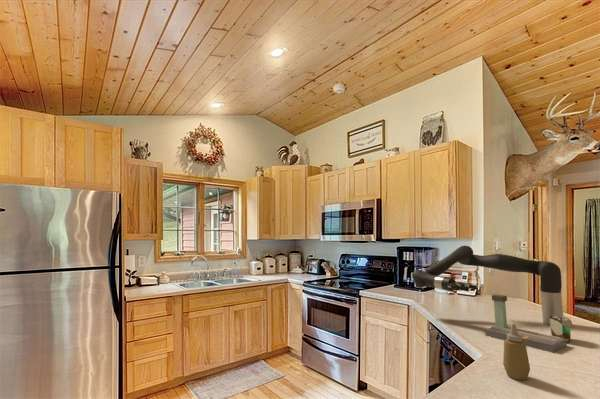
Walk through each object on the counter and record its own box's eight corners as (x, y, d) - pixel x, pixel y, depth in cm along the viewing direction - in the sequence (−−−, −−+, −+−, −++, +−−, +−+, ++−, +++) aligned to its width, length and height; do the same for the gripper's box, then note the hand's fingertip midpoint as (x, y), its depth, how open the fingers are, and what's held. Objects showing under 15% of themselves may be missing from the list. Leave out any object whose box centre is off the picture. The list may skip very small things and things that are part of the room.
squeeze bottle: (498, 372, 121) (495, 321, 123) (519, 371, 122) (515, 320, 124) (514, 382, 113) (510, 328, 115) (537, 381, 114) (532, 327, 116)
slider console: (500, 330, 171) (500, 322, 172) (566, 346, 148) (566, 336, 148) (485, 335, 164) (485, 326, 164) (553, 352, 140) (552, 342, 141)
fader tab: (498, 326, 168) (496, 294, 169) (509, 328, 163) (506, 295, 165) (493, 327, 165) (491, 295, 167) (504, 330, 161) (502, 296, 163)
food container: (580, 344, 149) (578, 321, 150) (564, 343, 151) (562, 321, 151) (564, 336, 161) (562, 314, 162) (550, 335, 163) (548, 314, 163)
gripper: (437, 277, 186) (465, 282, 172) (451, 275, 194) (480, 280, 180) (437, 291, 185) (465, 297, 172) (451, 288, 193) (480, 294, 180)
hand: (473, 288), depth 176 cm, fingers open, 8 cm apart
